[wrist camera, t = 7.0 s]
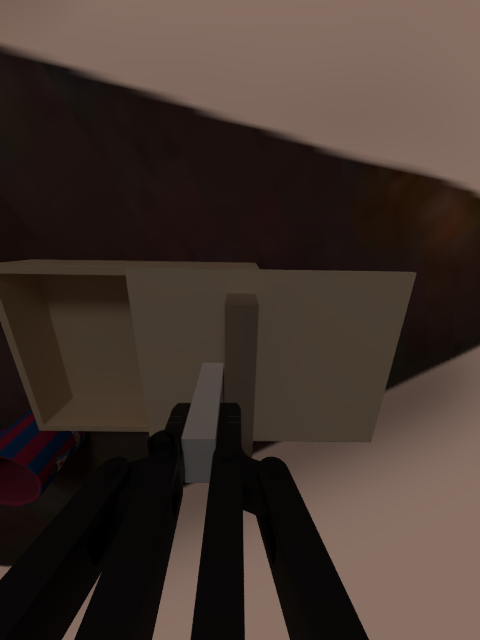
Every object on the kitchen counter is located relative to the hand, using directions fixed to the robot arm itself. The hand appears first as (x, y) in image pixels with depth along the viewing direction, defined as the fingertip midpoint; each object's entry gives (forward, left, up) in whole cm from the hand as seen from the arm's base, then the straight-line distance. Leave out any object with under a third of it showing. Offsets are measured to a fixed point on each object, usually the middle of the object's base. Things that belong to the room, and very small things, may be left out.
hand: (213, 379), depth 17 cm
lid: (+4, 0, -2) cm, 5 cm away
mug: (-21, -11, -7) cm, 25 cm away
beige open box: (-7, 0, -7) cm, 10 cm away
